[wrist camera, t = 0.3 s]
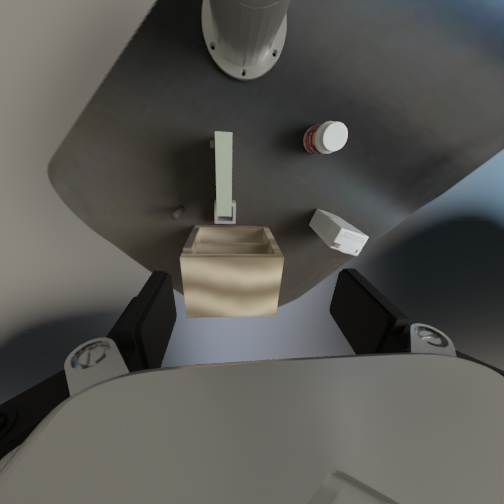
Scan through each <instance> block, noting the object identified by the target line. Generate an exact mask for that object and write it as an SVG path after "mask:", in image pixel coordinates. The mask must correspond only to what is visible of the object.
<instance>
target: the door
mask: <svg viewBox="0 0 504 504" xmlns="http://www.w3.org/2000/svg"><path fill="white" fill-rule="evenodd" d="M210 148H212V149H215V161H216V200H215V202H214V216H215V224H236V200H232V132H218V131H215V140H210ZM232 206H233V216H232ZM218 216H229V217H218Z"/></svg>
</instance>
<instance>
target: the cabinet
mask: <svg viewBox="0 0 504 504" xmlns="http://www.w3.org/2000/svg"><path fill="white" fill-rule="evenodd" d="M184 210H185V208H184V207H183V206H179V207H178V208H177V210H176V211H175V212H174V213H173V214H172V215H171V218H172V219H173V220H177V219H178V218H179V216H180V215H181V214H182V213H183V211H184ZM283 262H284V256H283V255H282V253H281V251H280V249H279V247H278V245H277V243H276V241H275V239H274V237H273V235H272V233H271V231H270V229H269V227H268V226H219V225H195V226H194V228H193V229H192V231H191V233H190V235H189V237H188V239H187V241H186V243H185V245H184V247H183V252H182V254H181V256H180V264H181V273H182V281H183V290H184V297H185V307H186V315H187V318H197V317H229V316H230V317H231V316H264V315H276V312H277V305H278V298H279V290H280V283H281V276H282V269H283Z"/></svg>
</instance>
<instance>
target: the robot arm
mask: <svg viewBox="0 0 504 504" xmlns="http://www.w3.org/2000/svg"><path fill="white" fill-rule="evenodd" d="M290 1H291V0H203V4H202V18H201V20H202V29H203V35H204V39H205V42H206V45H207V48H208V51H209V53H210V55H211V57H212V59H213V60H214V62H215V63H216V64H217V66H218V67H219V68H220V69H221V70H222V71H223V72H224V73H226V74H227V75H229V76H230V77H232V78H234V79H237V80H242V81H251V80H255V79H258V78H260V77H262V76H263V75H265V74H266V73H267V72H268V71H269V70H270V69H271V68H272V67H273V66H274V64H275V63H276V61H277V60H278V58H279V56H280V54H281V51H282V48H283V46H284V42H285V37H286V29H287V16H286V11H287V9H288V6H289V4H290ZM212 47H214V48H215V49H214V50H212ZM272 54H275V57H273V55H272ZM242 73H245V76H242ZM330 314H331V315H332V317H333V319H334V320H335V322H336V323H337V325H338V327H339V328H340V330H341V331H342V333H343V334H344V336H345V338H346V339H347V341H348V342H349V344H350V346H351V347H352V349H353V350H354V352H355V353H356V355H341V356H324V357H306V358H291V359H273V360H257V361H242V362H229V363H228V362H227V363H213V364H198V365H187V366H174V367H164V368H160V367H161V364H162V360H163V358H164V355H165V352H166V349H167V346H168V343H169V340H170V337H171V333H172V330H173V327H174V324H175V321H176V315H177V314H176V307H175V300H174V294H173V287H172V280H171V275H170V274H167V272H166V271H154V272H153V273H152V274H151V276H150V277H149V279H148V281H147V282H146V284H145V285H144V287H143V288H142V290H141V291H140V293H139V294H138V296H137V297H134V298H133V299H132V300H131V302H130V303H129V304H128V306H127V307H126V309H125V310H124V312H123V313H122V315H121V316H120V318H119V319H118V321H117V322H116V324H115V325H114V327H113V328H112V329H111V331H110V332H109V334H108V335H107V337H106V338H97V339H93V340H90V341H88V342H86V343H84V344H82V345H80V346H79V347H78V348H76V349H75V350H74V351H73V352H72V353H71V354H70V355H69V356H68V357H67V359H66V361H65V366H64V367H65V369H64V370H63V371H60V372H59V373H57V374H55V375H53V376H52V377H50V378H48V379H46V380H44V381H43V382H41V383H39V384H37V385H35V386H33V387H32V388H30V389H28V390H26V391H24V392H23V393H21V394H19V395H17V396H16V397H14V398H12V399H10V400H8V401H6V402H5V403H3V404H1V405H0V504H504V371H502V370H500V369H498V368H496V367H493V366H491V365H489V364H486V363H484V362H482V361H479V360H477V359H475V358H472V357H470V356H468V355H465V354H463V353H461V352H458V351H456V350H455V348H454V345H453V343H452V341H451V340H450V339H449V338H448V337H447V336H446V335H445V334H444V333H442V332H441V331H439V330H437V329H436V328H433V327H431V326H428V325H424V324H413V325H411V326H410V325H409V324H408V321H409V318H408V317H407V316H406V315H405V314H404V313H403V312H402V311H401V310H399V309H398V308H397V307H396V306H395V305H394V304H393V303H392V302H391V301H390V300H388V299H387V298H386V297H385V296H384V295H383V294H382V293H381V292H380V291H379V290H377V289H376V288H375V287H374V286H373V285H372V284H371V283H370V282H369V281H367V279H365V278H364V277H363V276H362V275H361V274H360V273H359V272H358V271H357V270H356V269H343V270H342V271H341V272H340V273H339V275H338V279H337V283H336V287H335V290H334V294H333V298H332V301H331V305H330Z"/></svg>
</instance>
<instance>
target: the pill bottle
mask: <svg viewBox="0 0 504 504" xmlns="http://www.w3.org/2000/svg"><path fill="white" fill-rule="evenodd" d="M347 137H348V131H347V128H346V126H345V125H344V124H343V123H341V122H334V121H327V122H324V123H321V124H318V125H314V126H312V127H310V128H309V129H308V130H307V131H306V133H305V135H304V139H303V143H304V147H305V149H306V150H307V151H308V152H310V153H315V154H316V153H317V154H329V153H332V152H334V151H337V150H339V149H341V148H342V147H343V146H344V144H345V143H346V140H347Z"/></svg>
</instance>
